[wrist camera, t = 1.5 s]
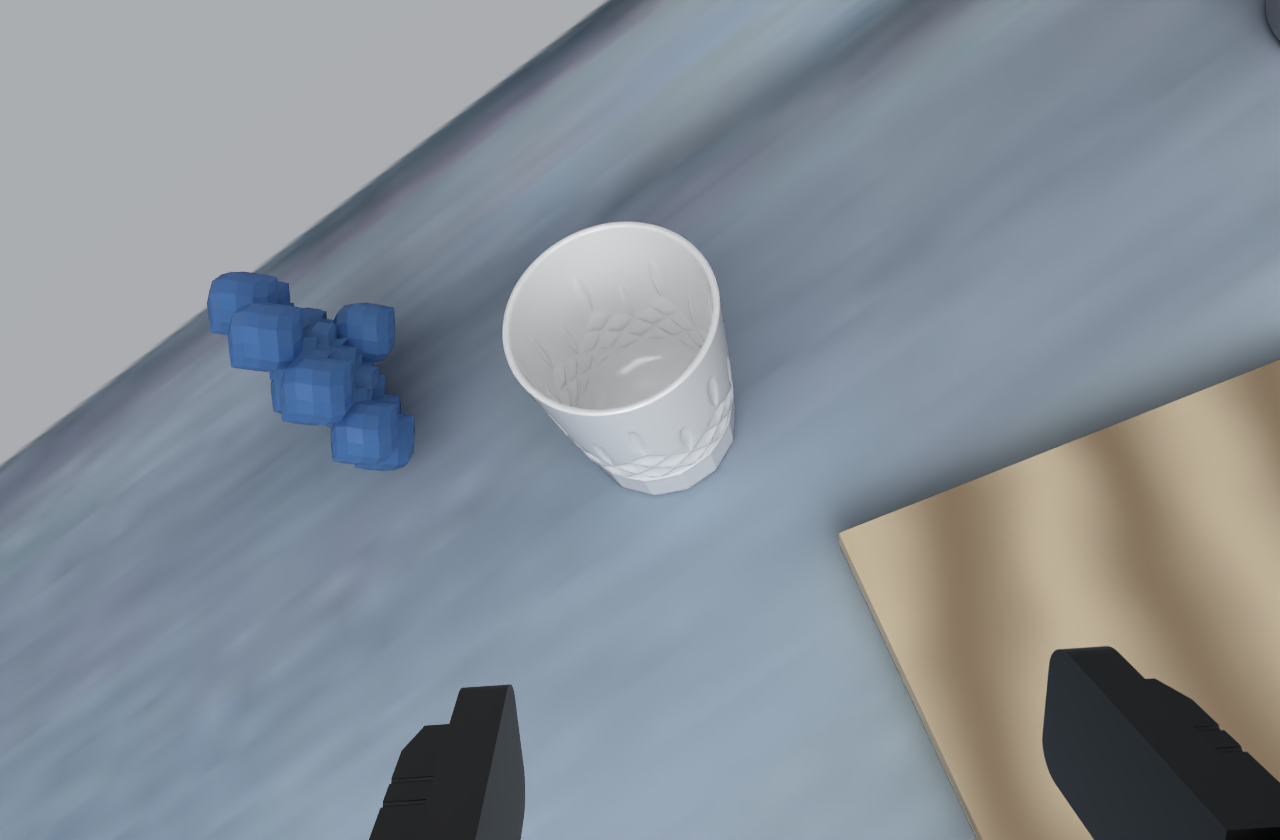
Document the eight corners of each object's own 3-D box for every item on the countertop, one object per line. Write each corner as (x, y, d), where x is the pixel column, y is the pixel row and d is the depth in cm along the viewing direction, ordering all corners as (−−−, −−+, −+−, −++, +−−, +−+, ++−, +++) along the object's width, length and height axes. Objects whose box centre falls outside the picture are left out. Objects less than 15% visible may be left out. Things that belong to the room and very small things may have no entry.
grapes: (519, 442, 40) (400, 310, 29) (410, 542, 39) (246, 443, 28) (389, 306, 45) (247, 150, 34) (290, 391, 44) (113, 259, 33)
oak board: (1311, 358, 33) (1330, 339, 32) (1632, 737, 27) (1674, 734, 25) (839, 543, 35) (838, 533, 33) (1031, 955, 28) (1040, 962, 26)
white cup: (686, 320, 40) (642, 185, 32) (784, 441, 37) (765, 325, 28) (550, 412, 40) (465, 301, 31) (635, 543, 36) (568, 459, 28)
